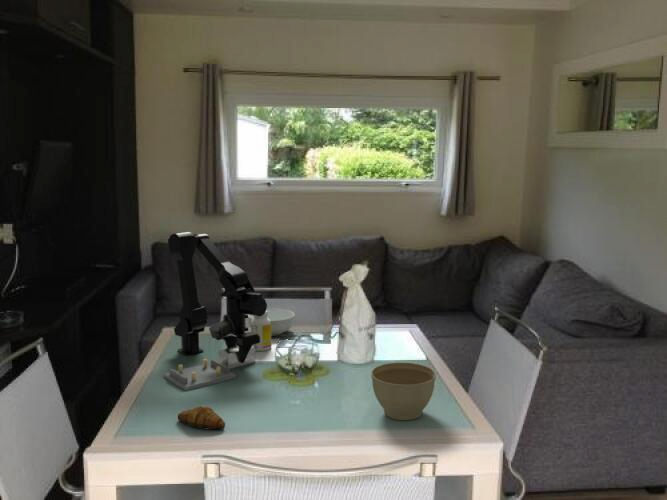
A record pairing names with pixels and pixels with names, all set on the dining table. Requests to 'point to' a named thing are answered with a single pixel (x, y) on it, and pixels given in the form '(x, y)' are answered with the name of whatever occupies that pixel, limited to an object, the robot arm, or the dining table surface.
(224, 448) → the dining table surface
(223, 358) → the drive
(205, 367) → the tray
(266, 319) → the supplement bottle
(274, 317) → the cereal bowl
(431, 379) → the planter bowl
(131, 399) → the dining table surface
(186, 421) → the croissant
